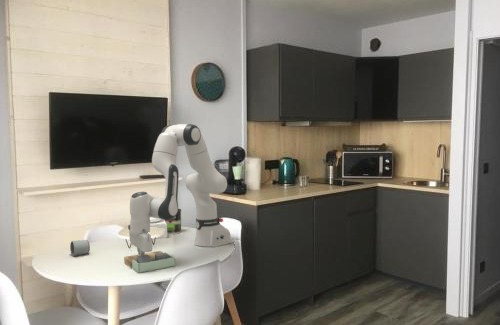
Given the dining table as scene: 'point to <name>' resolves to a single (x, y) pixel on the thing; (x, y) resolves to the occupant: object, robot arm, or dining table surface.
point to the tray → (153, 264)
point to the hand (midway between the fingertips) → (141, 257)
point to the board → (134, 257)
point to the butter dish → (159, 225)
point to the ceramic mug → (79, 247)
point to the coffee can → (174, 224)
